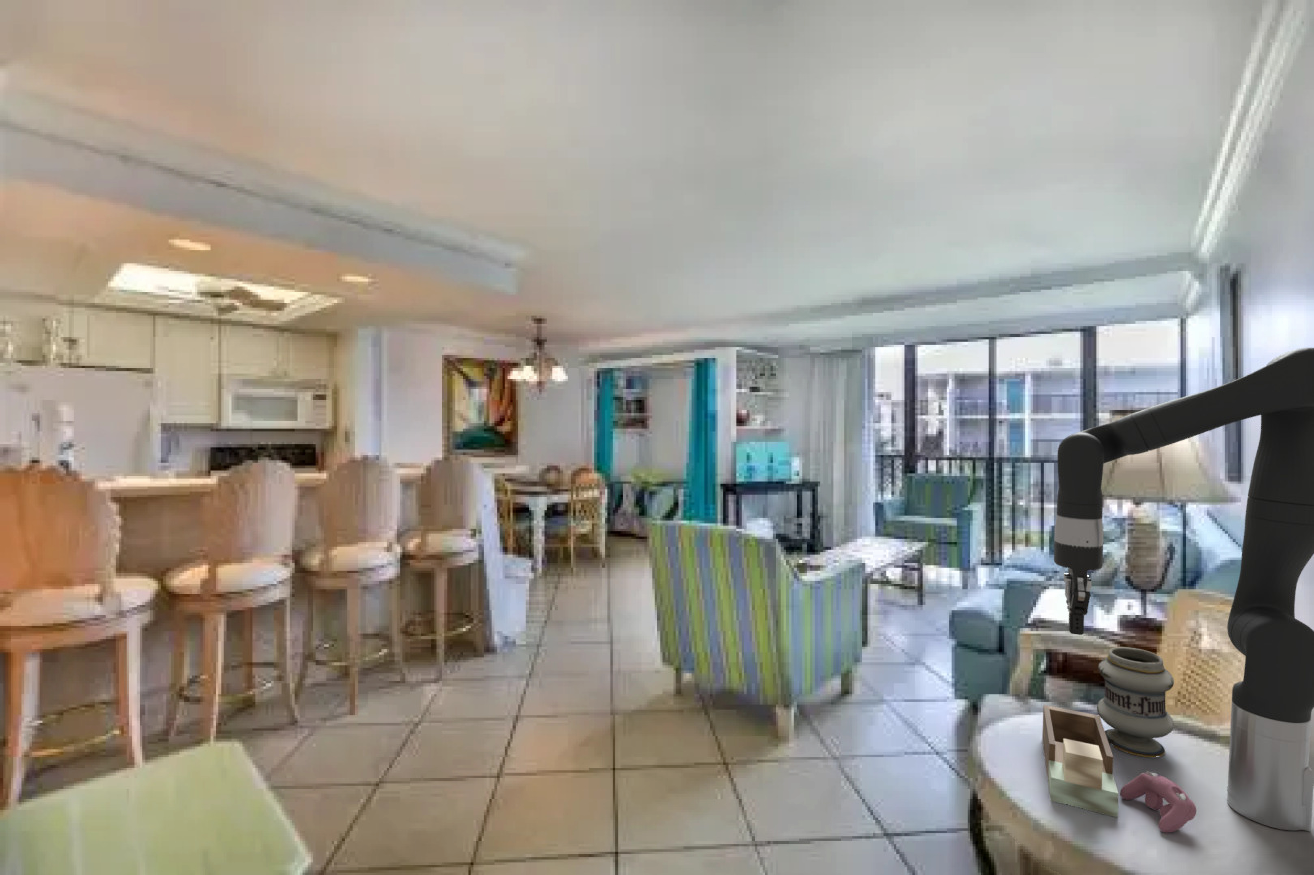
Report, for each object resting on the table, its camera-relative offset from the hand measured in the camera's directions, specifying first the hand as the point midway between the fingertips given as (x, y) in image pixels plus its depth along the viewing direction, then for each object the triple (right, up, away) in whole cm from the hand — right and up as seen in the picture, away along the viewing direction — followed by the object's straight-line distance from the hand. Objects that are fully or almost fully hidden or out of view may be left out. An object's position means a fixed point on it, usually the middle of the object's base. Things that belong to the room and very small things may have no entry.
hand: (1075, 632), depth 118 cm
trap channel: (-2, -24, -4) cm, 25 cm away
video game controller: (+3, -25, -15) cm, 30 cm away
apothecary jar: (+16, -24, +7) cm, 29 cm away
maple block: (-7, -21, -12) cm, 25 cm away
